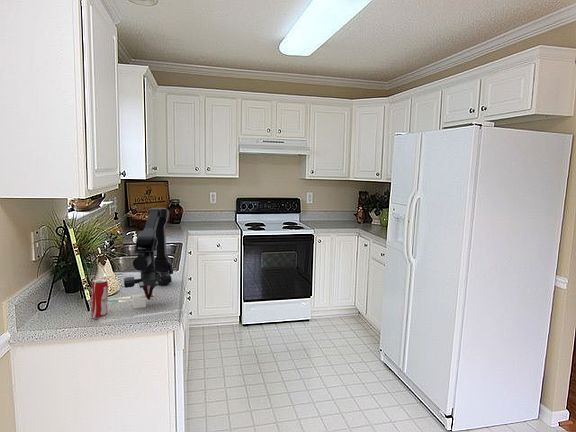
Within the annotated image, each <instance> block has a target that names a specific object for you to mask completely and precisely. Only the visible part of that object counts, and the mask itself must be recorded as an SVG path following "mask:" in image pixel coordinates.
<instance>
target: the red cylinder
mask: <svg viewBox="0 0 576 432" xmlns="http://www.w3.org/2000/svg"><path fill="white" fill-rule="evenodd" d="M147 290H148V291H149V286H147ZM143 294H145V291H144V290H143ZM153 294H154V292H153V291H152V294H151V297H152V296H153ZM145 296H146V294H145ZM146 298H147V296H146Z"/></svg>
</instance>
